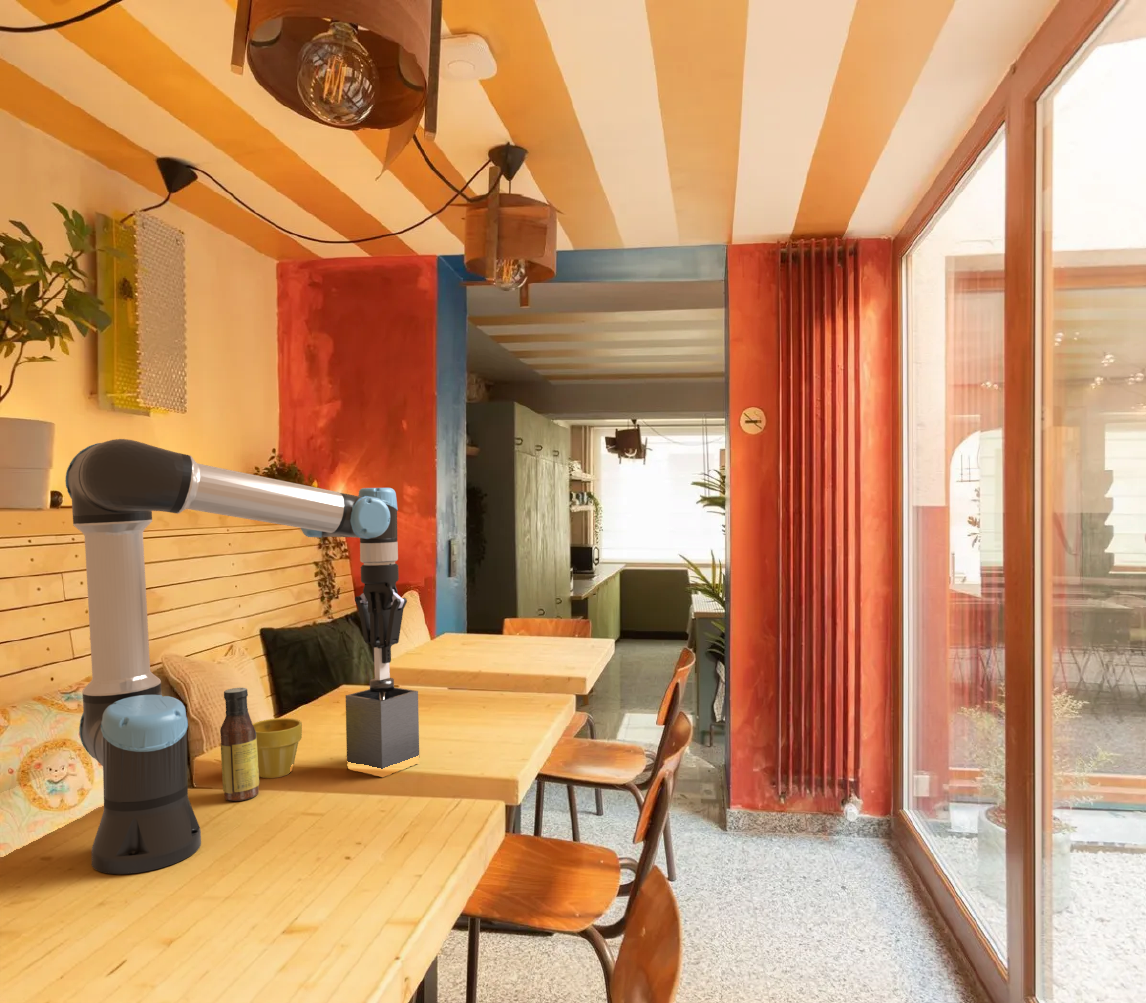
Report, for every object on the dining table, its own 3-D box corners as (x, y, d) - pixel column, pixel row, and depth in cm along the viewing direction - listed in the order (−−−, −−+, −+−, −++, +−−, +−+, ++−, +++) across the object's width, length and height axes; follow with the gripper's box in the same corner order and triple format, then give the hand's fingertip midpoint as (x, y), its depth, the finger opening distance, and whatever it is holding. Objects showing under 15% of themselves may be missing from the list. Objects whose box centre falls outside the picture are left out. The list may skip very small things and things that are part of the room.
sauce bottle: (265, 791, 157) (263, 685, 157) (249, 803, 151) (247, 693, 151) (232, 790, 157) (230, 685, 157) (214, 802, 151) (212, 693, 151)
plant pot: (291, 781, 162) (290, 731, 162) (239, 782, 162) (238, 732, 162) (309, 764, 172) (308, 717, 172) (260, 765, 173) (259, 718, 173)
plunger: (382, 753, 164) (380, 686, 164) (353, 747, 169) (352, 681, 169) (412, 743, 171) (410, 678, 171) (384, 737, 176) (382, 674, 176)
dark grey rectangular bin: (382, 778, 163) (380, 701, 163) (347, 769, 169) (345, 695, 169) (431, 759, 174) (430, 687, 174) (397, 751, 180) (395, 682, 180)
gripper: (415, 562, 169) (418, 678, 170) (371, 561, 177) (374, 672, 177) (388, 565, 163) (391, 685, 163) (343, 563, 171) (346, 679, 171)
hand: (382, 678), depth 170 cm, fingers closed
